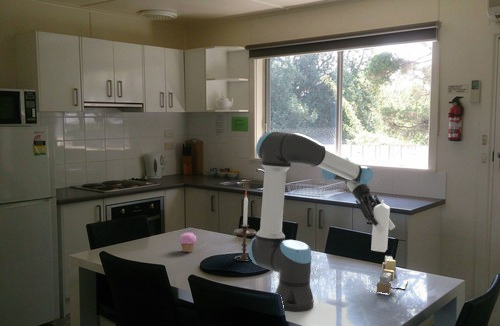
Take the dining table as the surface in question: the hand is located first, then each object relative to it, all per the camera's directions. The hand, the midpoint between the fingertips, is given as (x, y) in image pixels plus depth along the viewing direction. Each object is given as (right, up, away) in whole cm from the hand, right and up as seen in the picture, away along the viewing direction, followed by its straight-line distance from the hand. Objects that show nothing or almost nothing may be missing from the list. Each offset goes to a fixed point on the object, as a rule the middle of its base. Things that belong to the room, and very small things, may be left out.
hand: (387, 229), depth 211 cm
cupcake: (-92, -17, +41) cm, 102 cm away
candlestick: (-62, -19, +30) cm, 72 cm away
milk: (-3, -9, +4) cm, 10 cm away
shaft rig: (0, -24, +3) cm, 24 cm away
